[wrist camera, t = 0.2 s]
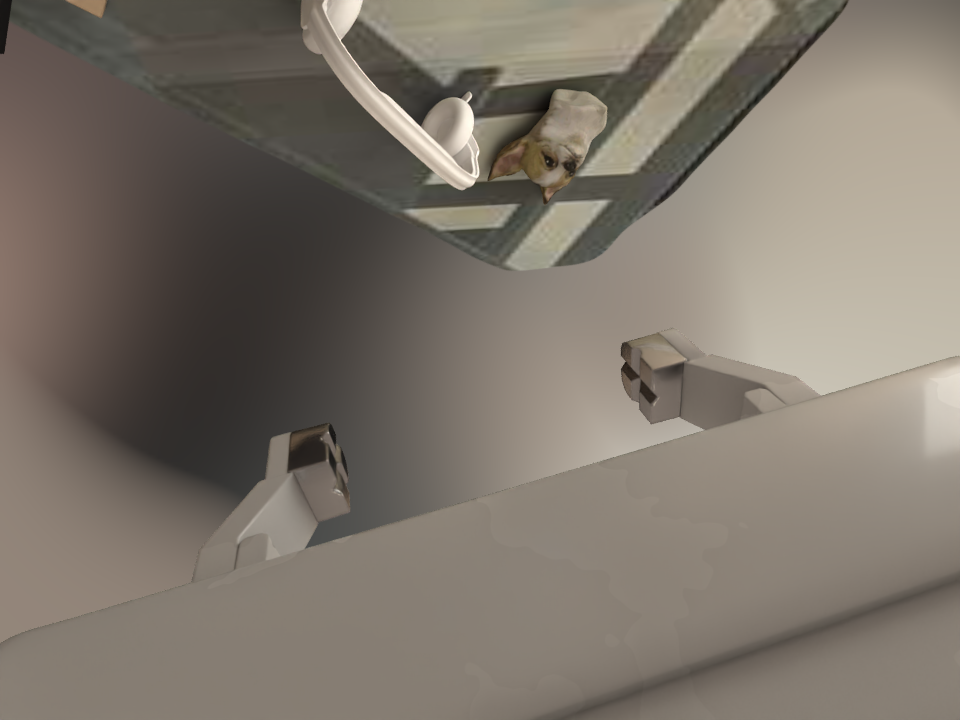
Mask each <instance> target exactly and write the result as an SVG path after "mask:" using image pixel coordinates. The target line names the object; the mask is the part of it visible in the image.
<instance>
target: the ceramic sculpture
mask: <svg viewBox="0 0 960 720" xmlns="http://www.w3.org/2000/svg"><path fill="white" fill-rule="evenodd" d="M606 119H607V106H605V105H604V104H603V103H602V102H601V101H600V100H598V99H597V98H596V97H595V96H592V95H591V94H590V93H588V92H578V91H574V90H565V89H557V90H555V91H554V93H553V94H552V96H551V100H550V106H549V110H548V111H547V113H546V114H545V115H544V116H543V117H542V118H541V119H540V121H539V122H538V123H537V124H536V125H535V126H534V127H533V128H532V130H531V131H530V132H529V133H528V135H526V136H523V137H521V138H519V139H517V140H515V141H513V142H511V143H509V144H508V145H506V146H505V147H504V148H503V149H502V150H501V151H500V152H499V153H498V155H497V157H496V158H495V160H494V162H493V164H492V166H491V170H490V173H489V176H488V181H490V180H492V179H494V178H496V177H500V176H505V175H506V176H508V175H512V174H515V173H516V172H519V171H520V170H521V169H523V170H524V172H525V173H526V174H527V176H528V177H529V178H530V179H531V180H532V181H533V182H534V183H536V184H538V185H539V186H540V188H541V191H542V195H543V203H544V204H545V205H546V204H547V203H548V201H549V200H550V199H551V197H552V196H553V195H554V194H555V193H556V192H557V191H559V190H560V189H562V188H563V186H566V185H567V184H569V183H570V181H571V179H572V178H574V176H575V173H576V171H577V169H578V168H579V166H580V165H581V164H582V163H583V161H584V159H585V156H586V154H587V152H588V149H589V146H590V143H591V141H592V140H593V138H594V137H596V136H597V135H598V134H599V133H600V132H602V131H603V129H604V128H605V126H606Z"/></svg>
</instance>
